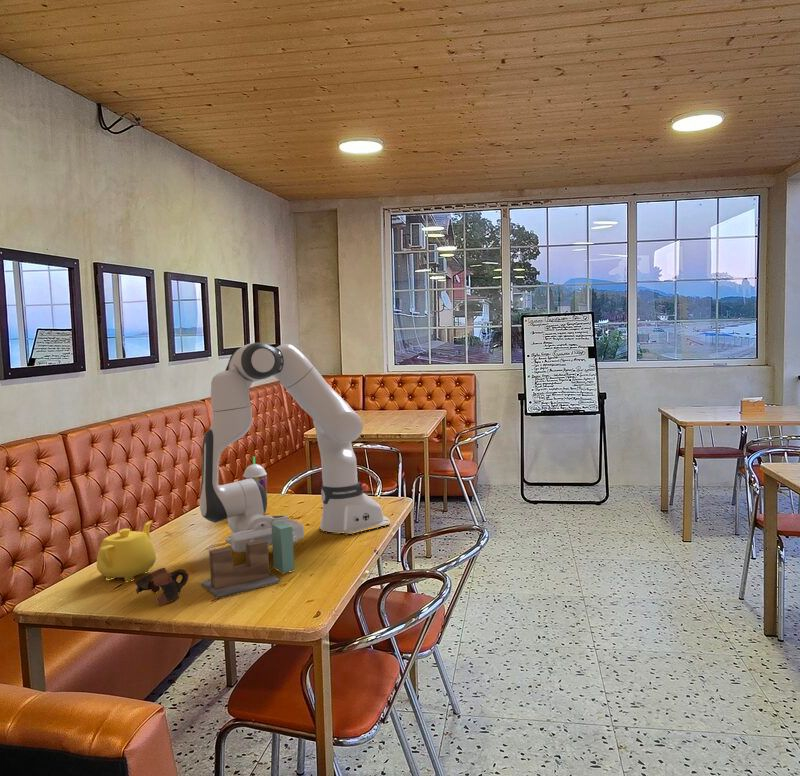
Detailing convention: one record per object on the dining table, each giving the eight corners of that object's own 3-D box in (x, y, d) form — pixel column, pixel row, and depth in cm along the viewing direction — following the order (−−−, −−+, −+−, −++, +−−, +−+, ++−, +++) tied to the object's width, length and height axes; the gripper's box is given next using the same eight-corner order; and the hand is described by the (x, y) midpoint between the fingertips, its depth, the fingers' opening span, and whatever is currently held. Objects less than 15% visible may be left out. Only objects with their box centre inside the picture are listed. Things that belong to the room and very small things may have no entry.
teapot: (174, 562, 181) (171, 519, 180) (124, 590, 162) (120, 541, 161) (134, 559, 185) (131, 517, 184) (80, 586, 165) (76, 539, 164)
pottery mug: (148, 613, 148) (133, 580, 150) (144, 617, 156) (130, 586, 158) (197, 587, 155) (182, 556, 156) (191, 592, 163) (177, 562, 164)
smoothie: (246, 510, 234) (243, 455, 233) (270, 508, 235) (267, 453, 233) (243, 516, 226) (240, 459, 224) (268, 514, 227) (264, 458, 225)
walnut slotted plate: (201, 584, 164) (199, 547, 163) (261, 569, 172) (259, 533, 172) (217, 599, 154) (215, 559, 153) (280, 582, 163) (278, 544, 162)
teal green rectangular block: (273, 568, 173) (271, 523, 172) (285, 565, 175) (282, 521, 174) (283, 574, 168) (280, 528, 167) (294, 571, 170) (292, 526, 169)
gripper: (222, 528, 178) (240, 539, 167) (290, 514, 190) (312, 524, 178) (223, 550, 179) (241, 563, 167) (292, 535, 190) (313, 546, 179)
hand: (278, 543), depth 173 cm, fingers open, 8 cm apart
